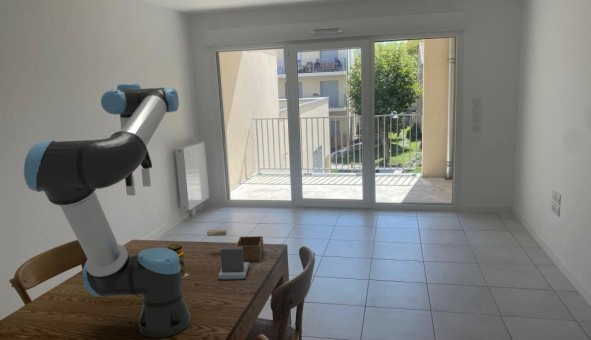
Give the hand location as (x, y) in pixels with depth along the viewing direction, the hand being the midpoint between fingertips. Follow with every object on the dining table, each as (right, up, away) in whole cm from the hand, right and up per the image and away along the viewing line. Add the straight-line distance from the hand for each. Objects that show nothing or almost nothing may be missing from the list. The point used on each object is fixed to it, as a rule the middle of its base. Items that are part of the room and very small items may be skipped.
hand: (139, 190), depth 152 cm
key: (+20, -21, +36) cm, 47 cm away
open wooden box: (+35, -30, +34) cm, 57 cm away
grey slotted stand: (+31, -33, +17) cm, 48 cm away
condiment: (+8, -34, +17) cm, 39 cm away
